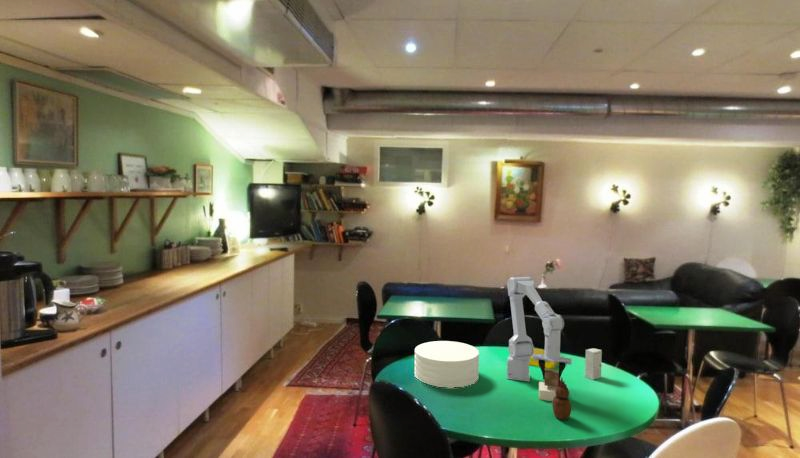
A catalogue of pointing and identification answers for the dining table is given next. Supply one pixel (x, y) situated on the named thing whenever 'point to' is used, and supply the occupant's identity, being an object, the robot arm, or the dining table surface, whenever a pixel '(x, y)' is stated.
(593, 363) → the skincare box
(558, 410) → the wooden figurine
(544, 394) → the cream base block
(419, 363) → the plate stack
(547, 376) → the walnut cube
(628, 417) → the dining table surface
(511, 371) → the robot arm
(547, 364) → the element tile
